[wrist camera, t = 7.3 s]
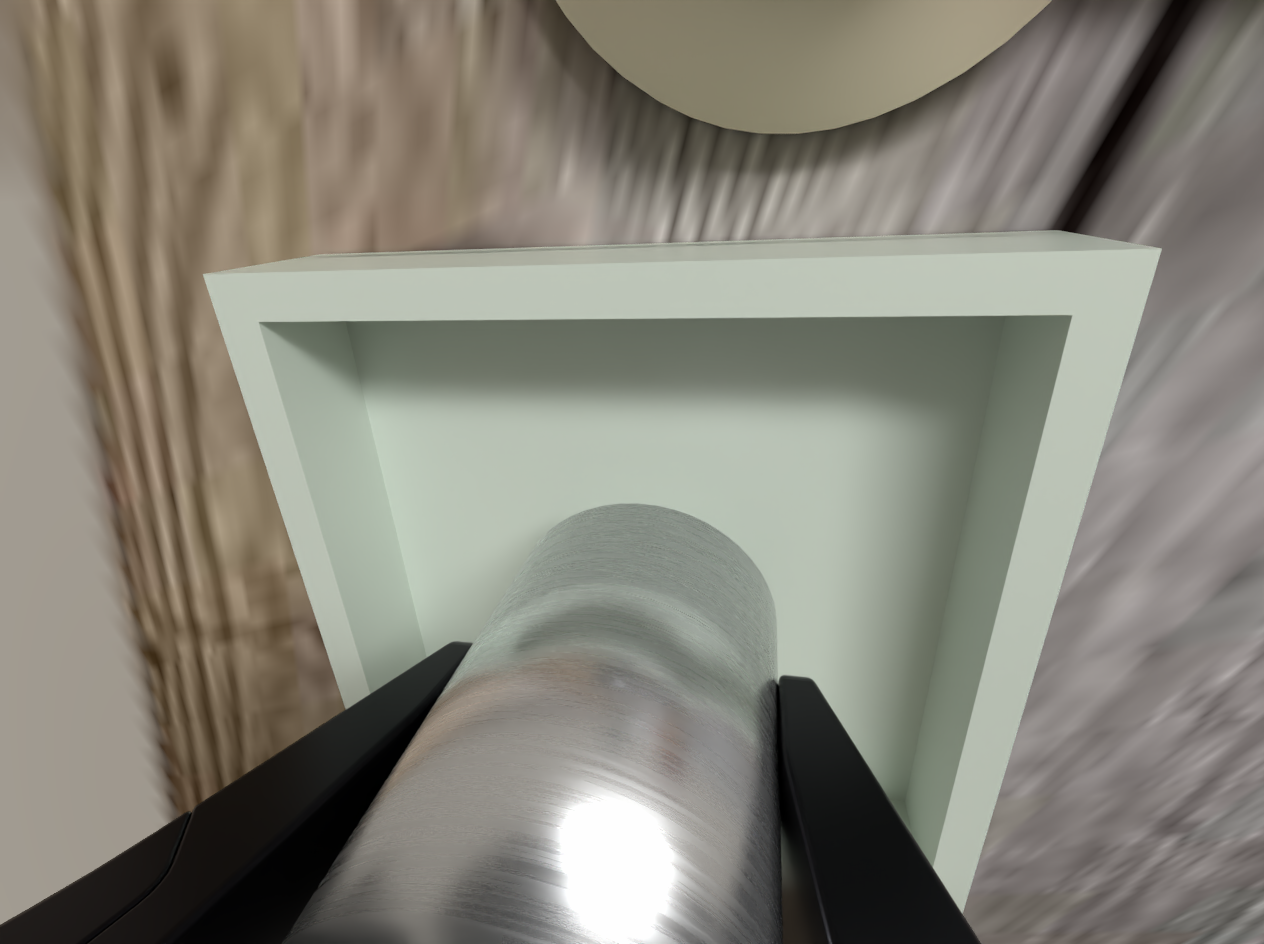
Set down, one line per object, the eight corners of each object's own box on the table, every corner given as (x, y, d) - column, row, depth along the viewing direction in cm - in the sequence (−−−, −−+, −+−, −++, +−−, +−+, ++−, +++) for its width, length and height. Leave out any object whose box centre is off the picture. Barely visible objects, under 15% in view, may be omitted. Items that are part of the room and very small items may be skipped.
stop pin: (770, 730, 10) (771, 1263, 5) (534, 700, 11) (338, 1138, 6) (784, 510, 8) (809, 995, 3) (504, 496, 9) (189, 870, 4)
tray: (927, 799, 12) (959, 924, 10) (439, 733, 14) (383, 826, 12) (1057, 230, 8) (1161, 248, 6) (320, 254, 10) (203, 274, 8)
